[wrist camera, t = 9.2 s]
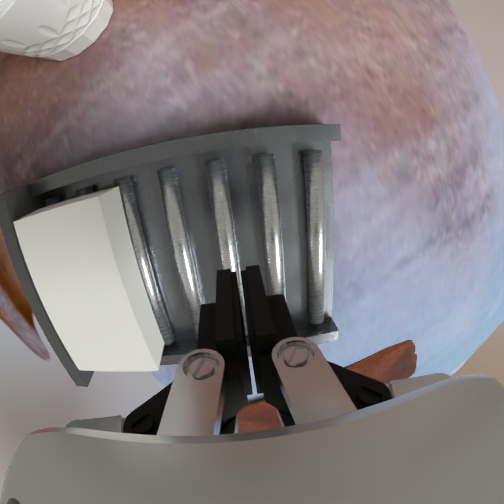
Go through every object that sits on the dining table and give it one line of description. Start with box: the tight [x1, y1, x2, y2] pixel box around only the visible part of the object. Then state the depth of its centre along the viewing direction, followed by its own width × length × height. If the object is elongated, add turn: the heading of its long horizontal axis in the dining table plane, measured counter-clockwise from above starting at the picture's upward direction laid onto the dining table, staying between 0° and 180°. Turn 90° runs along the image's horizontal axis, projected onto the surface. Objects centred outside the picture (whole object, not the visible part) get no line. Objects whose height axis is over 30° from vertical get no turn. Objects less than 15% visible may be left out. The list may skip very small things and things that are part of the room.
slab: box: [13, 186, 164, 371], centre depth 16 cm, size 12×7×3 cm, turn 6°
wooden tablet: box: [238, 340, 417, 433], centre depth 28 cm, size 27×10×2 cm, turn 111°
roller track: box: [0, 124, 341, 387], centre depth 17 cm, size 16×22×5 cm
